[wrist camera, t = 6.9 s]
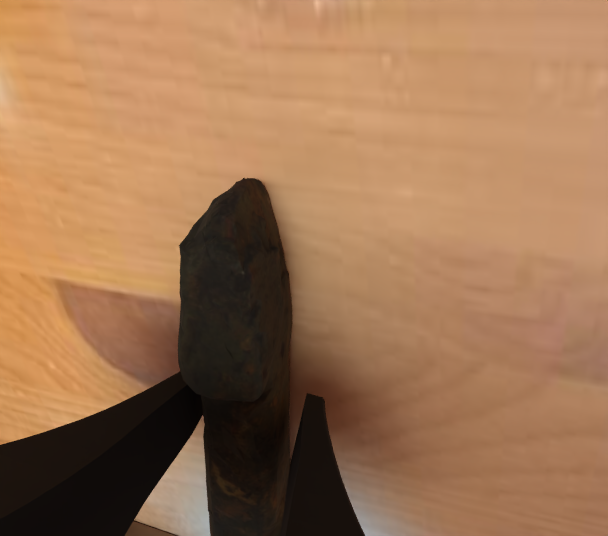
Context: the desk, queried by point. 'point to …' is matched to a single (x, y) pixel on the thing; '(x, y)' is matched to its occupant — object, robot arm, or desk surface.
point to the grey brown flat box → (144, 530)
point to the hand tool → (239, 357)
